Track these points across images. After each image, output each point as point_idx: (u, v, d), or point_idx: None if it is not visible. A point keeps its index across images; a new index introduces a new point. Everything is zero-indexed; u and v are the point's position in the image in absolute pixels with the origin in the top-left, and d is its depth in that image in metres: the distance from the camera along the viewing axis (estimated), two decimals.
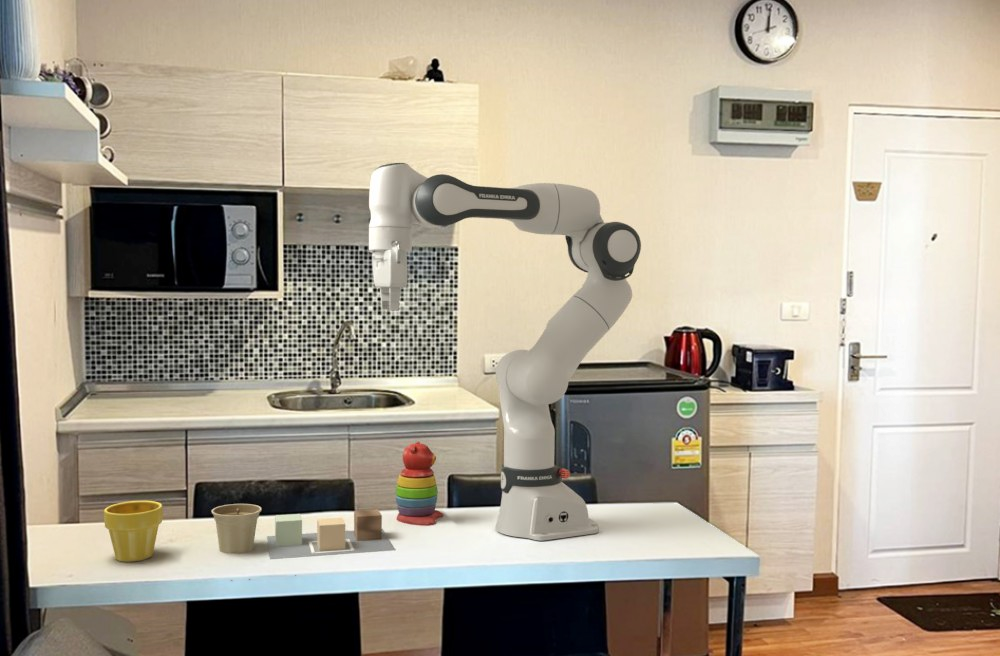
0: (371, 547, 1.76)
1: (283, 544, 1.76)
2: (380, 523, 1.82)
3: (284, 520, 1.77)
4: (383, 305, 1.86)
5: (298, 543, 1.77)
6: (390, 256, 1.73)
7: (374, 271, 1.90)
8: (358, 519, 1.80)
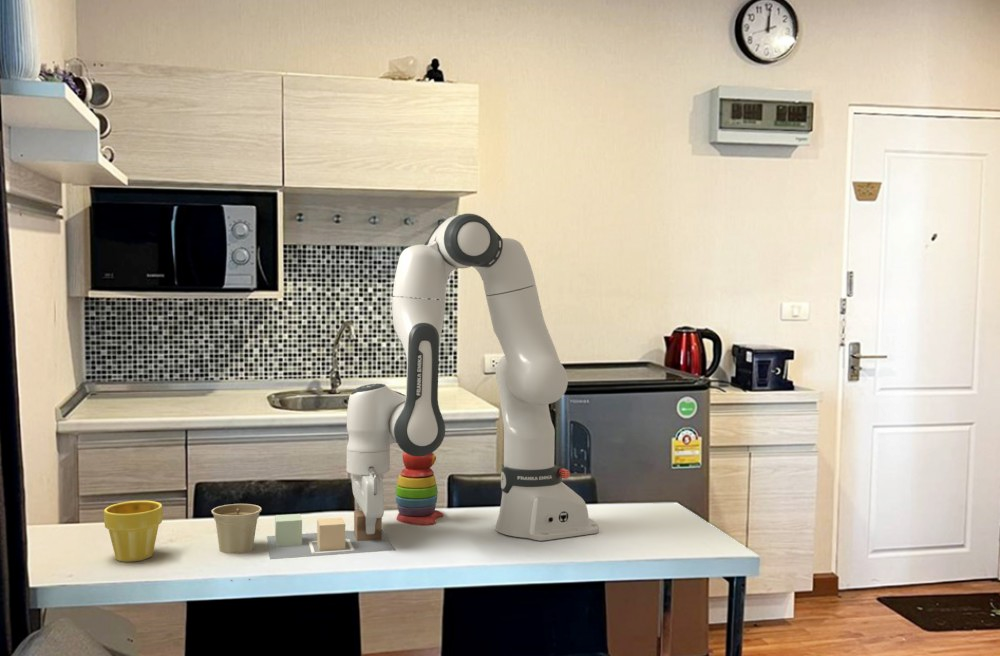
0: (371, 547, 1.76)
1: (283, 544, 1.76)
2: (380, 523, 1.82)
3: (284, 520, 1.77)
4: None
5: (298, 543, 1.77)
6: (367, 488, 1.74)
7: (353, 482, 1.91)
8: (358, 519, 1.80)
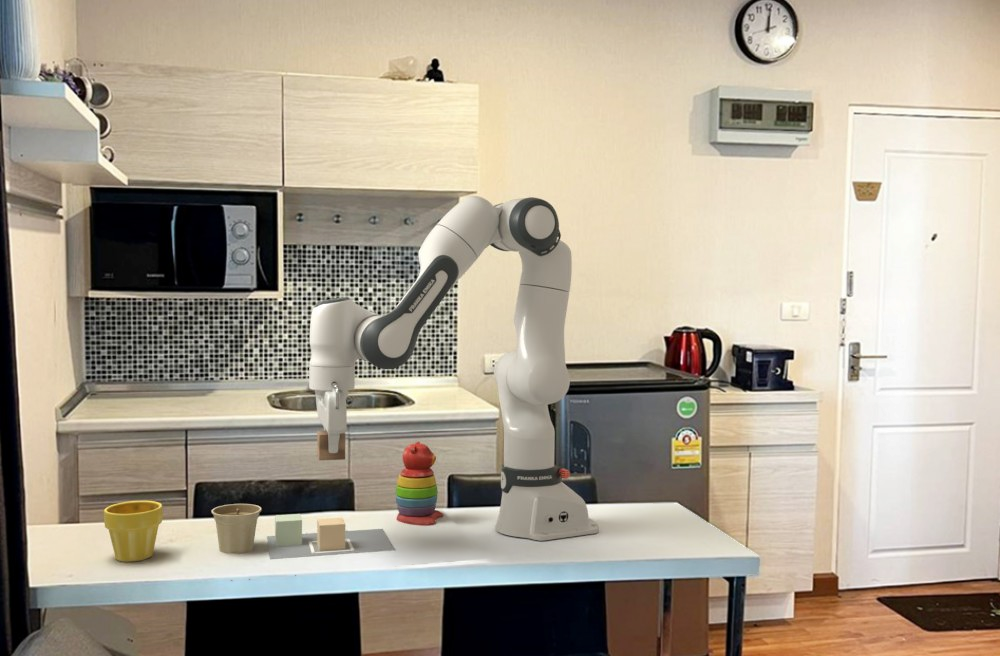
0: (371, 547, 1.76)
1: (283, 544, 1.76)
2: (343, 442, 1.74)
3: (284, 520, 1.77)
4: None
5: (298, 543, 1.77)
6: (328, 401, 1.66)
7: (317, 404, 1.83)
8: (320, 437, 1.72)
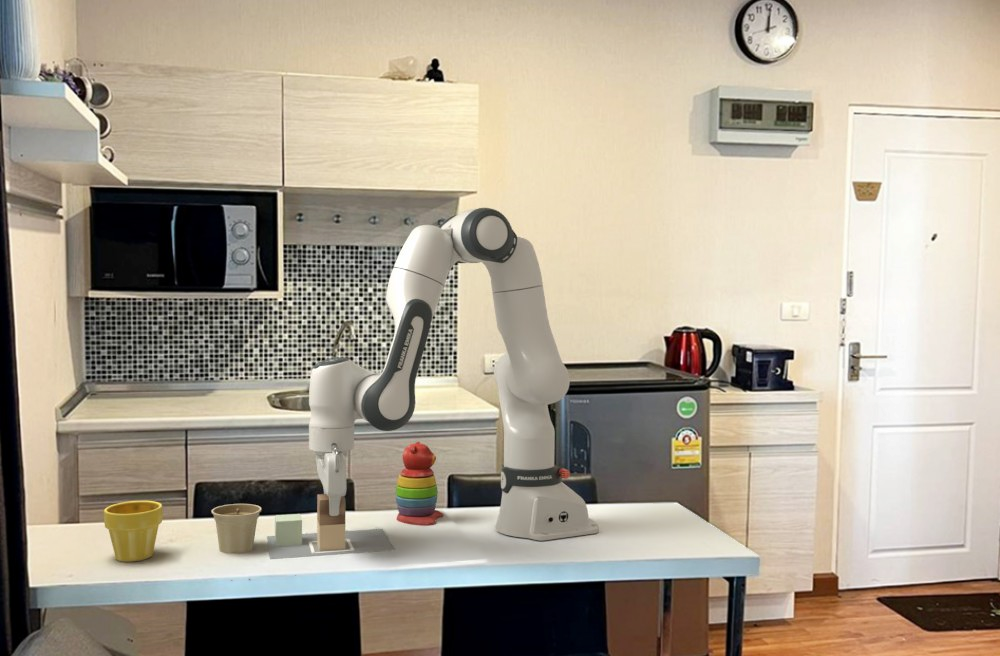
0: (371, 547, 1.76)
1: (283, 544, 1.76)
2: (344, 507, 1.74)
3: (284, 520, 1.77)
4: None
5: (298, 543, 1.77)
6: (328, 465, 1.66)
7: (317, 461, 1.83)
8: (320, 503, 1.73)
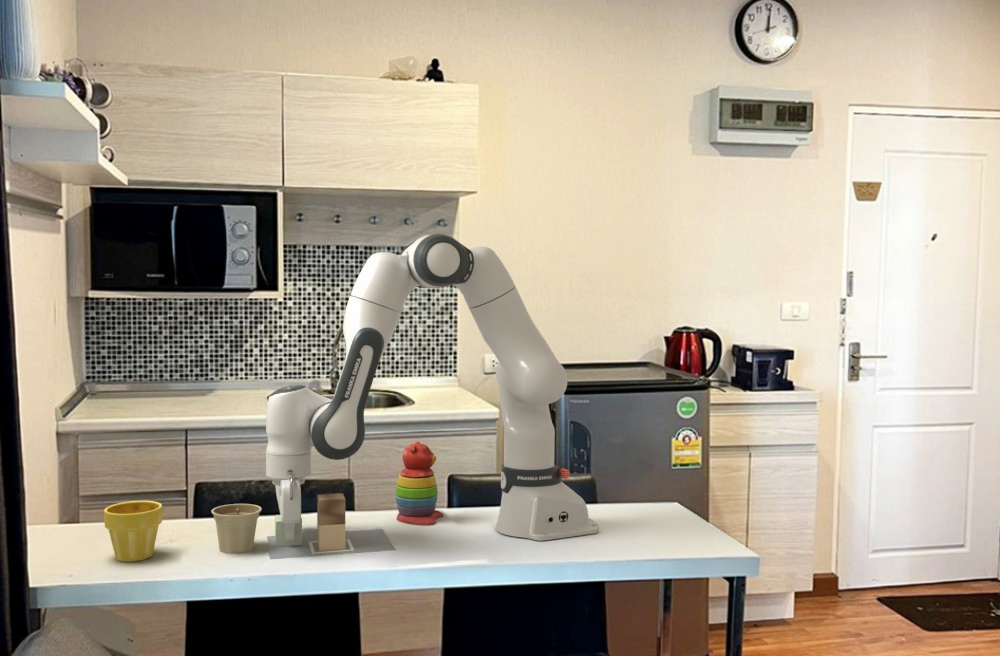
0: (371, 547, 1.76)
1: (283, 544, 1.76)
2: (344, 507, 1.74)
3: None
4: None
5: (298, 543, 1.77)
6: (283, 492, 1.69)
7: (276, 486, 1.86)
8: (320, 503, 1.73)
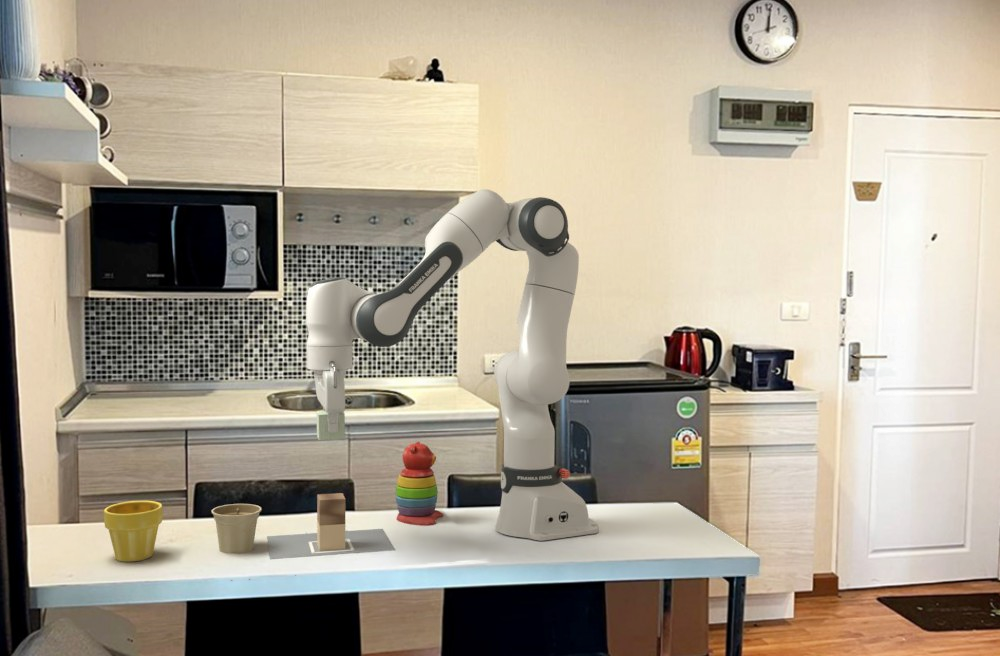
0: (371, 547, 1.76)
1: (326, 438, 1.73)
2: (344, 507, 1.74)
3: (326, 414, 1.73)
4: None
5: (341, 437, 1.74)
6: (326, 380, 1.66)
7: (316, 384, 1.83)
8: (320, 503, 1.73)
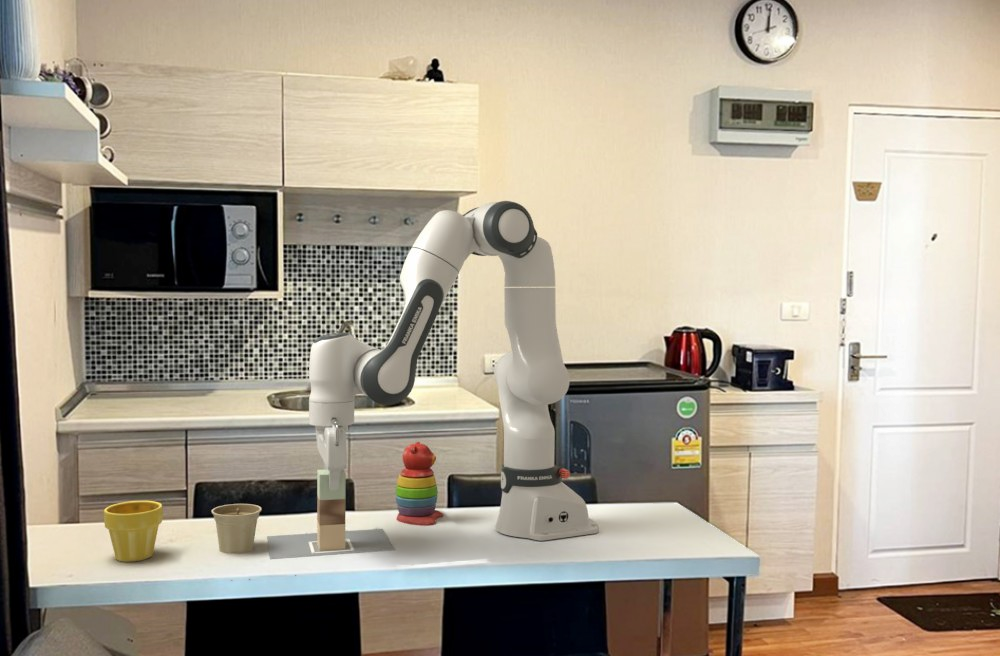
0: (371, 547, 1.76)
1: (326, 498, 1.73)
2: (344, 507, 1.74)
3: (327, 473, 1.74)
4: None
5: (341, 497, 1.74)
6: (328, 438, 1.66)
7: (317, 437, 1.83)
8: (320, 503, 1.73)
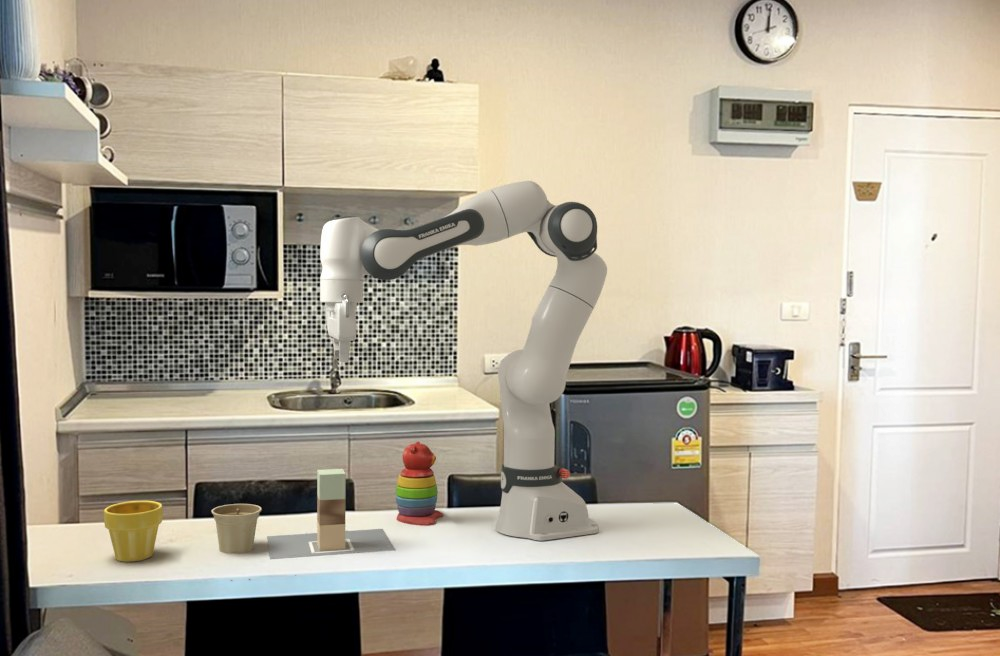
0: (371, 547, 1.76)
1: (326, 498, 1.73)
2: (344, 507, 1.74)
3: (327, 473, 1.74)
4: (335, 355, 1.89)
5: (341, 497, 1.74)
6: (339, 310, 1.75)
7: (327, 320, 1.92)
8: (320, 503, 1.73)
